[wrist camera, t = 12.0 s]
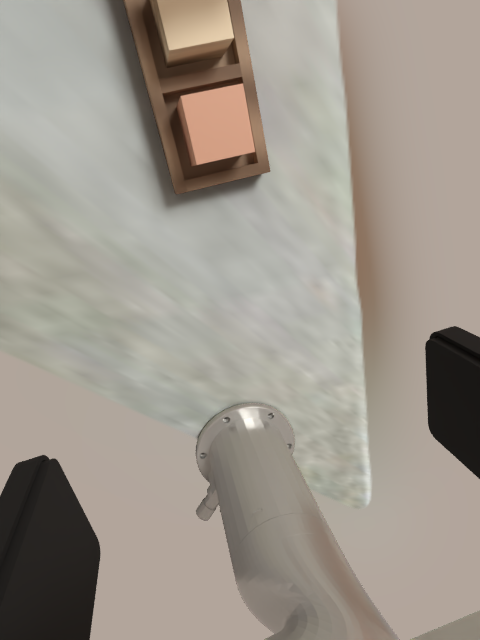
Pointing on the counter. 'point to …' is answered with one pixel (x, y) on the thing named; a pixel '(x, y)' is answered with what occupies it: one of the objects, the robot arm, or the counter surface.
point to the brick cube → (215, 124)
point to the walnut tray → (195, 78)
